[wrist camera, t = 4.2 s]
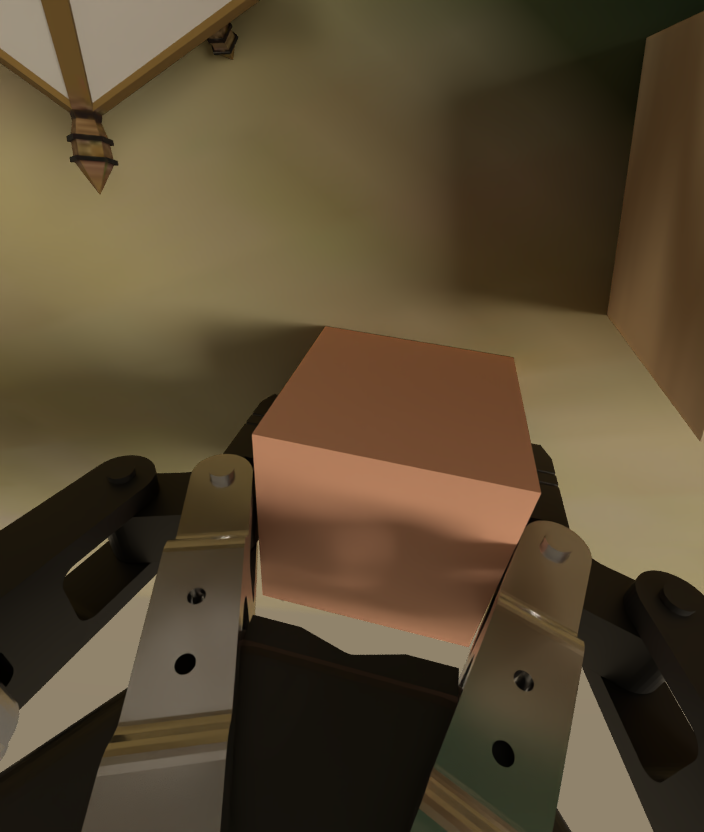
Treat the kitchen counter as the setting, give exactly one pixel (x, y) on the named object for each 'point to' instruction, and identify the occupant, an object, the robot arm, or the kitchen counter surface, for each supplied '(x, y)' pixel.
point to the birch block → (666, 222)
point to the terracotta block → (394, 482)
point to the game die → (106, 55)
